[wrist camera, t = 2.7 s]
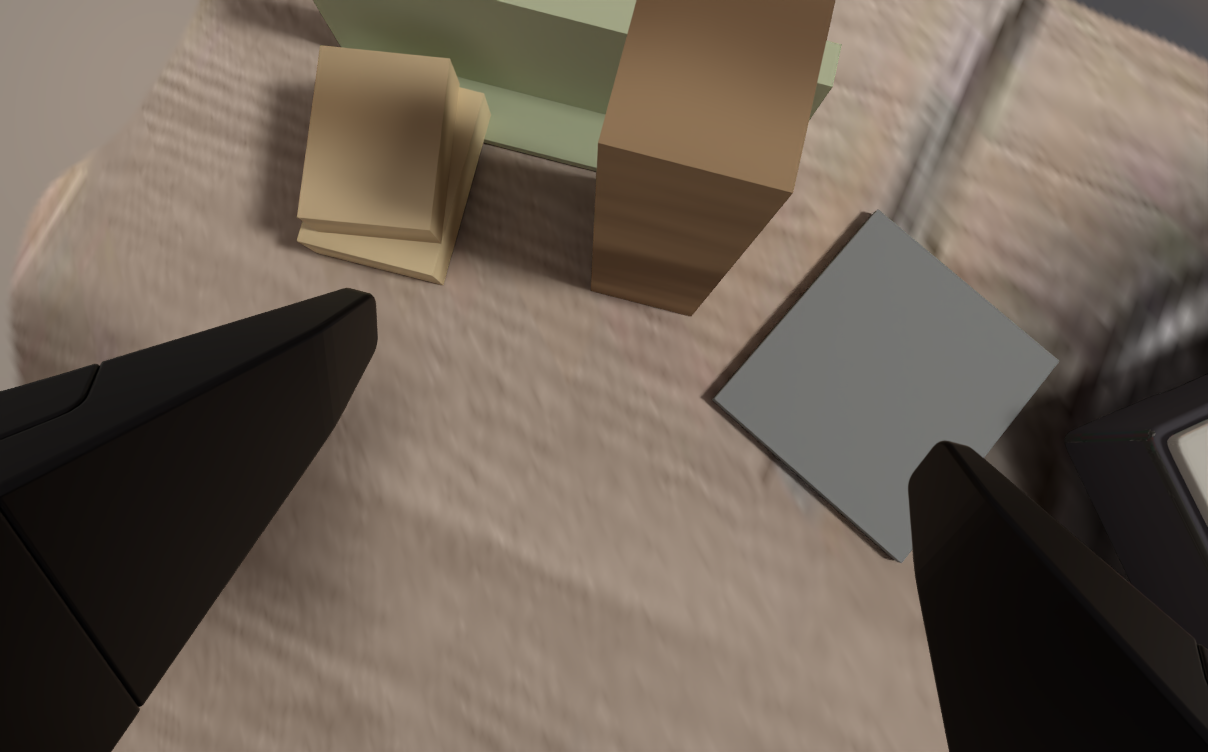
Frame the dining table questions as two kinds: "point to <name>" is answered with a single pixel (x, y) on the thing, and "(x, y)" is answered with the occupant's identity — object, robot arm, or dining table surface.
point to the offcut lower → (435, 257)
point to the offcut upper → (379, 144)
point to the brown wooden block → (700, 141)
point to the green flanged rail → (519, 61)
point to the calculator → (1155, 496)
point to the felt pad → (883, 377)
